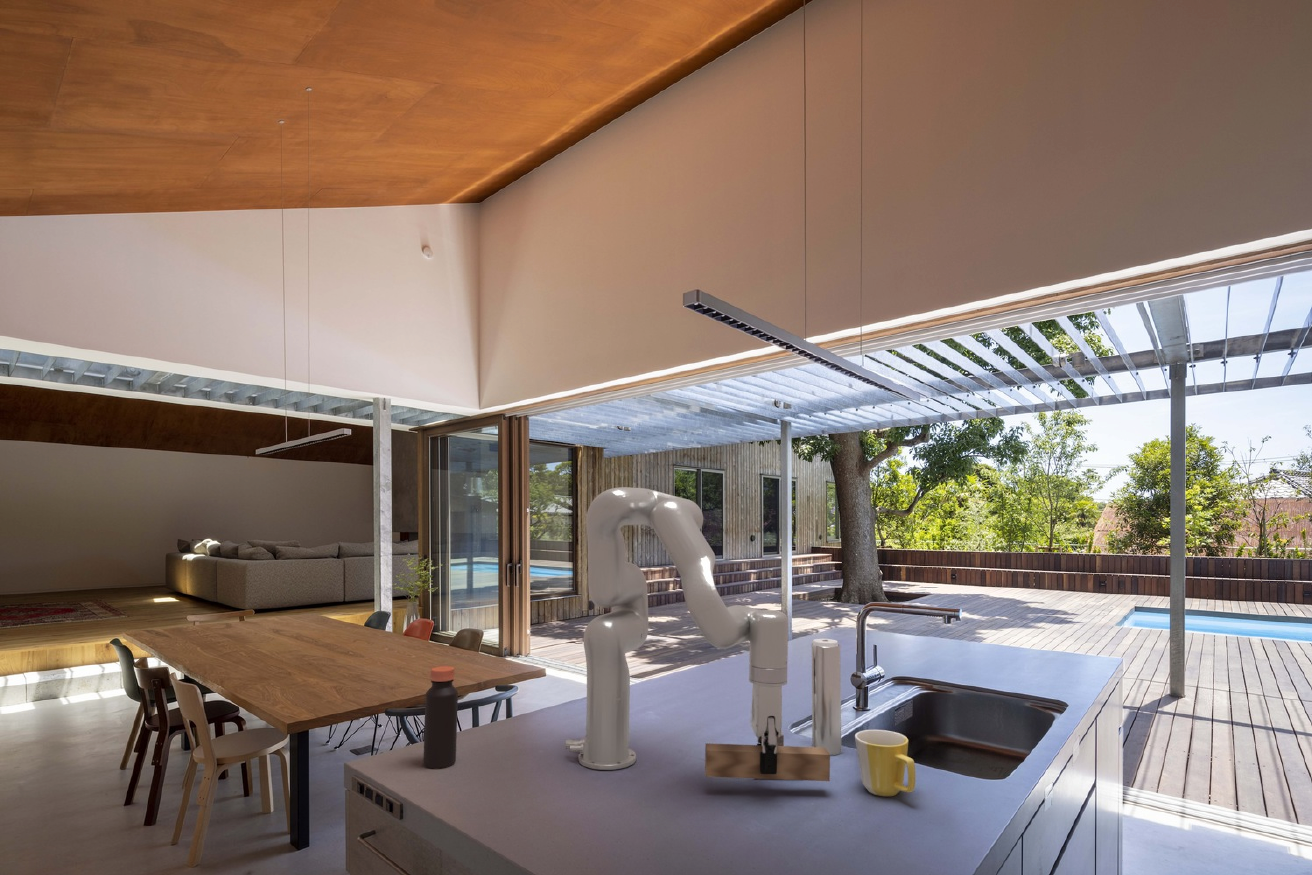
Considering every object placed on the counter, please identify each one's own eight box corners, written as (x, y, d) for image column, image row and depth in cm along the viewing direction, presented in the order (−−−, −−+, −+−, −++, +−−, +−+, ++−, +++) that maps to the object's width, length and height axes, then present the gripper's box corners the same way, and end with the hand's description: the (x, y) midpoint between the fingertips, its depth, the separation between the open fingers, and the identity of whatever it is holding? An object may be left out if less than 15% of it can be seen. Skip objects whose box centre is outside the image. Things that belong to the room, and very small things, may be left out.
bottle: (416, 765, 157) (419, 670, 159) (439, 756, 163) (442, 663, 165) (439, 771, 154) (443, 673, 156) (462, 761, 160) (465, 667, 162)
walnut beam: (706, 776, 143) (706, 750, 143) (704, 768, 147) (705, 743, 147) (829, 781, 143) (830, 754, 143) (824, 773, 147) (825, 747, 147)
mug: (846, 783, 150) (846, 730, 151) (892, 779, 152) (891, 727, 153) (879, 811, 137) (879, 752, 138) (929, 807, 139) (928, 749, 140)
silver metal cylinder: (842, 756, 165) (840, 643, 168) (812, 754, 167) (811, 641, 169) (840, 747, 172) (839, 638, 174) (812, 745, 173) (811, 636, 175)
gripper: (744, 663, 155) (742, 753, 153) (754, 684, 138) (752, 785, 137) (780, 664, 155) (778, 754, 153) (794, 685, 138) (793, 786, 137)
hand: (766, 767), depth 145 cm, fingers closed on walnut beam, 4 cm apart
